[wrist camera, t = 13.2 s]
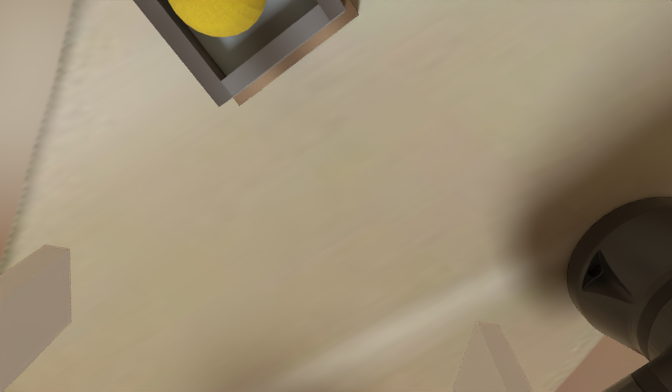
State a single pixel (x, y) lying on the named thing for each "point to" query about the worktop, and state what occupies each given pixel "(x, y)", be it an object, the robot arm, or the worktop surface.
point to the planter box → (250, 43)
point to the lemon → (219, 15)
